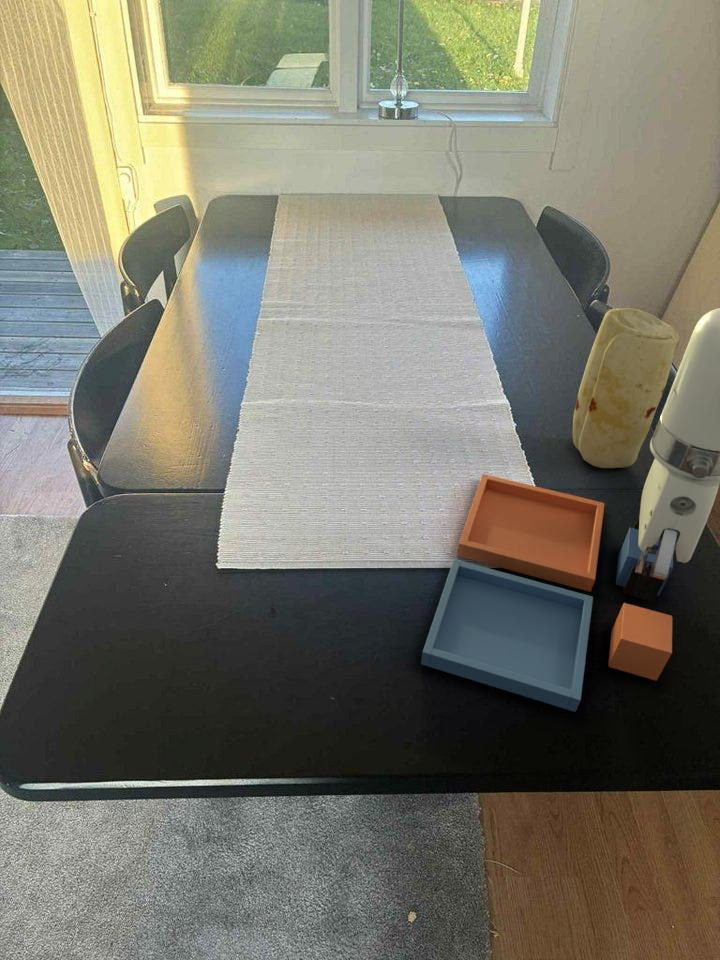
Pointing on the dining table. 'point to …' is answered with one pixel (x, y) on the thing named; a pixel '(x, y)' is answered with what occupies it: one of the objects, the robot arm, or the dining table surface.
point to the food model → (622, 386)
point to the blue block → (633, 558)
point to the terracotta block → (641, 641)
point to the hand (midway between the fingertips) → (639, 571)
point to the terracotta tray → (534, 532)
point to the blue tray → (511, 634)
